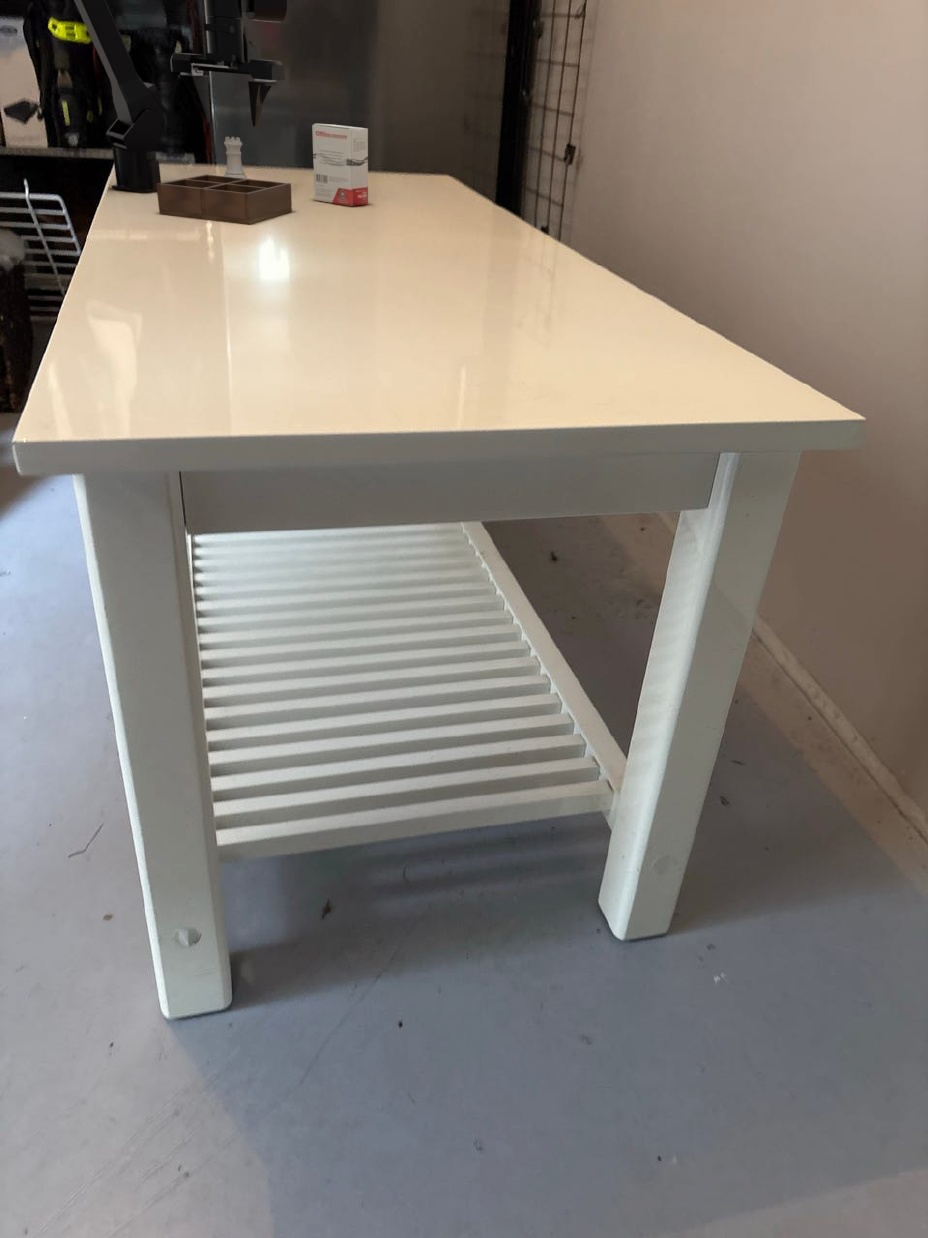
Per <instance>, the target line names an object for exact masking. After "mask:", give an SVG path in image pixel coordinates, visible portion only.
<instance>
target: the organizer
mask: <svg viewBox="0 0 928 1238" xmlns="http://www.w3.org/2000/svg"><path fill="white" fill-rule="evenodd" d="M156 186H157V190H156V195H157V204H158V213H159V215H166V216H167V215H169V216H176V217H183V218H194V219H200V220H201V219H202V220H208V221H218V222H219V221H220V222H226V223H227V222H228V223H236V224H244V225H252V224H255V223H258V222H261V221H265V220H269V219H272V218H275V217H279V216H282V215H285V214H288V213H291V212H293V208H292V207H293V203H292V202H293V201H292V183H290V182H280V181H270V180H261V179H252V178H247V179H244V178H235V177H225V176H224V175H213V174H201V175H196V176H190V177H185V178H179V179H174V180H169V181H164V182H161V183H158V184H156Z"/></svg>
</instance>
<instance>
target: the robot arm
mask: <svg viewBox="0 0 928 1238" xmlns="http://www.w3.org/2000/svg"><path fill="white" fill-rule="evenodd" d="M73 1H74V3H75V6H76V8H77V10H78V12H79V15H80V16H81V19H82V22H83V23H84V25H85V27H86V30H87V32H88V34H89V36H90V39H91V41H92V43H93V45H94V48H95V49H96V52H97V54H98V56H99V59H100V61H101V63H102V65H103V68H104V69H105V72H106V74H107V76H108V78H109V81H110V86H111V93H112V102H113V106H114V108H115V111H116V115H117V118H116V120H115V121H114V122H113V123H112V125H111V126H110V127H109V128H108V130H107V131H106V132H105V134H106V136H107V138H108V141H109V143H110V145H111V146H112V147H111V150H112V151H111V152H112V156H113V157H112V159H113V165H114V174H115V181H116V184H112V185H111V189H112V190H122V191H132V192H140V193H148V192H154V191H157V186H156V184H158V183H162V179H161V168H160V161H159V159H157V150H158V145H159V141H160V138H161V137H162V136H163V135H164V133H165V130H166V127H167V125H168V124H167V118H166V114H165V113H167V112H168V109H167V108H166V107H165V106H164V105H163V103H162V101H161V98H160V94H159V91H158V88H157V86H156V84H154V83H149V82H144V81H143V80H142V79H141V77H140V76H139V74H138V73H137V70H136V68H135V66H134V64H133V60H132V59H131V56H130V53H129V52H128V49H127V47H126V45H125V43H124V40H123V38H122V35H121V33H120V31H119V29H118V26H117V24H116V21H115V19H114V17H113V14H112V11H111V9H110V7H109V6H108V3H107V0H73ZM205 9H206V10H205V11H206V23H203V31H205V32H207V36H208V37H207V39H208V51H209V52H205V54H198V53H186V52H185V53H184V52H174V53H173V54H172V55H171V58H170V70H171V71H170V72H172V73H180V74H178V79H181V80H183V81H184V83H185V85H186V87H187V88H188V90H189V92H190V94H191V95H192V98H193V99H194V101H195V104H196V106H197V108H198V110H199V112H200V114H201V116H202V118H203V120H204V122H205V123H210V122H211V109H210V99H209V89H208V86H209V83H210V78H211V76H210V75H204V74H205V73H206V72H214V73H225V74H226V73H227V74H235V75H236V74H237V75H247V76H248V75H249V76H251V78H252V79H253V80H247V85H248V97H249V108H250V109H249V110H250V118H251V124H252V127H253V128H257V127H258V126H259V124H260V121H261V115H262V112H263V108H264V104H265V102H266V99H267V96H268V93H269V92H270V91H271V89H272V88H273V87H274V86H278V83H279V82H278V81H286V69H285V67H284V64H283V63H282V61H280V60H271V59H260V58H261V49H260V48H259V47H258V46H257V45H256V44H255V43H254V42H253V41H251V40H249V37H248V30H247V27H246V26H243V25H244V24H243V14H244V15H245V17H246V19H248V20H249V21H258V22H267V23H268V22H270V23H279V24H280V23H283V22H284V21H285V19H286V17H287V12H288V0H205ZM222 62H223V65H219V63H222Z"/></svg>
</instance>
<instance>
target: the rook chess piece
mask: <svg viewBox="0 0 928 1238" xmlns="http://www.w3.org/2000/svg"><path fill="white" fill-rule="evenodd" d="M223 145H224V146H225V148H226V151H225V154H226V169H225V174H224V175H223V176H225V177H235V178H244V179H248V177H247V175H246V173H245V171H244V168H243V164H242V152H241V147H242V146H243V142H242V141H241V137H238V136H231V138H230V136H225V141H224V142H223Z"/></svg>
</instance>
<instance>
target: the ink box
mask: <svg viewBox="0 0 928 1238" xmlns="http://www.w3.org/2000/svg"><path fill="white" fill-rule="evenodd" d="M311 129H312V131H311V132H312V154H313V155H312V160H313V189H314V194H313V195H314V201H315V202H316V201H317V202H323V203H329V204H335V205H341V206H347V207H353V206H361V205H362V206H363V205H368V204H369V128H367V127H365V128H364V127H358V126H349V125H342V124H341V125H339V124H329V123H313V124H312V125H311Z"/></svg>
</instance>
